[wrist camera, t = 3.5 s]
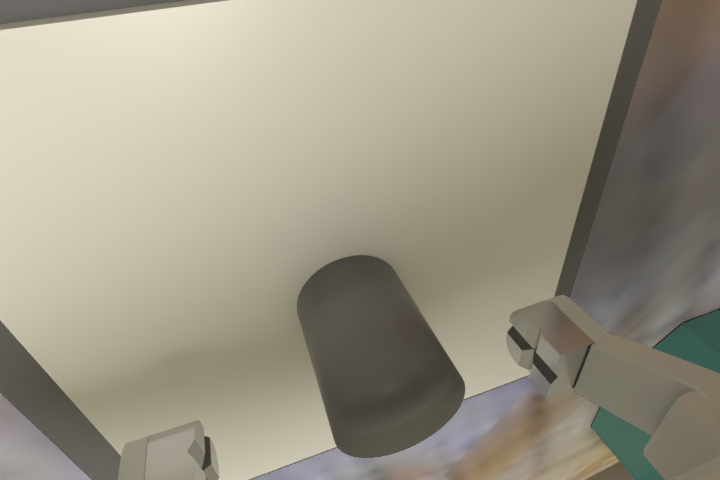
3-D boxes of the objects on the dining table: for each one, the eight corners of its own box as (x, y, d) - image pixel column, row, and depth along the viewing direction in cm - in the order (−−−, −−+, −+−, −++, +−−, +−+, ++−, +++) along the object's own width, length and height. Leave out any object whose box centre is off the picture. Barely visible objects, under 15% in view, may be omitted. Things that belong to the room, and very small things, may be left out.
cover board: (616, -55, 10) (884, -57, 6) (519, 356, 20) (599, 457, 16) (-182, 47, 7) (-690, 182, 3) (169, 482, 16) (162, 649, 12)
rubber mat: (694, -169, 10) (715, -174, 9) (540, 361, 22) (547, 369, 21) (-469, -98, 5) (-521, -102, 5) (137, 509, 17) (136, 522, 17)
